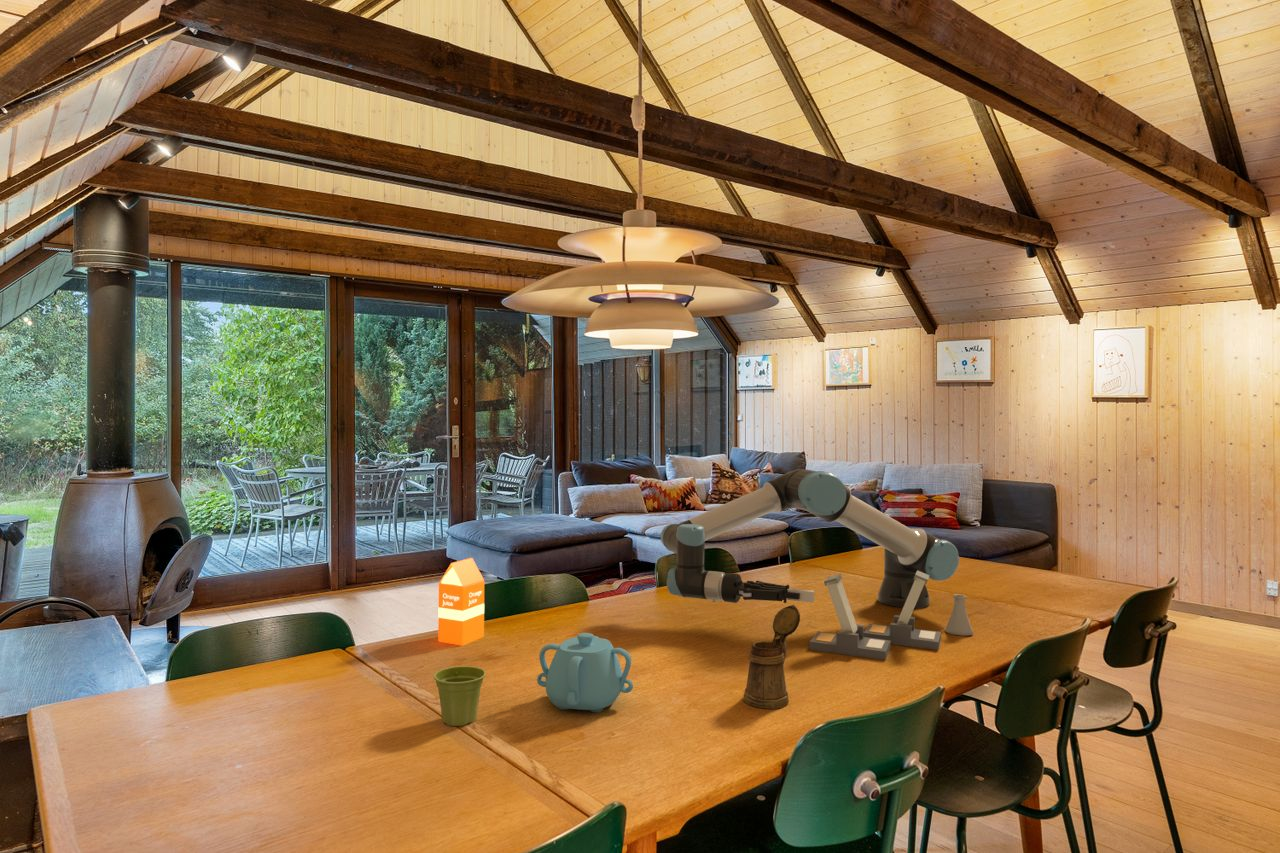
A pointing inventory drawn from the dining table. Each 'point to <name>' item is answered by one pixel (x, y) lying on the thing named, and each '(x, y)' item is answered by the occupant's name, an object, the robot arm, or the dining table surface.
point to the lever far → (913, 597)
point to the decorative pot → (584, 673)
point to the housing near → (851, 644)
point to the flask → (959, 618)
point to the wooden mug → (771, 664)
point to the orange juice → (461, 604)
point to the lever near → (841, 603)
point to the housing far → (904, 634)
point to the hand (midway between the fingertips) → (813, 596)
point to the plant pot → (459, 693)
